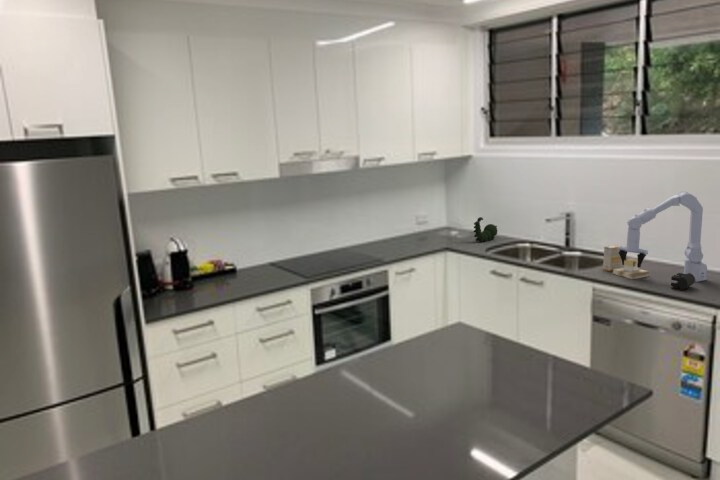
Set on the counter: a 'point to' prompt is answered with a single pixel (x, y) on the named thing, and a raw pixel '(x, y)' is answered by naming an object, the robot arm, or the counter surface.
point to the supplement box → (611, 258)
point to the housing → (630, 265)
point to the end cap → (682, 281)
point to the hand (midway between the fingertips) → (631, 265)
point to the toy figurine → (487, 233)
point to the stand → (631, 273)
